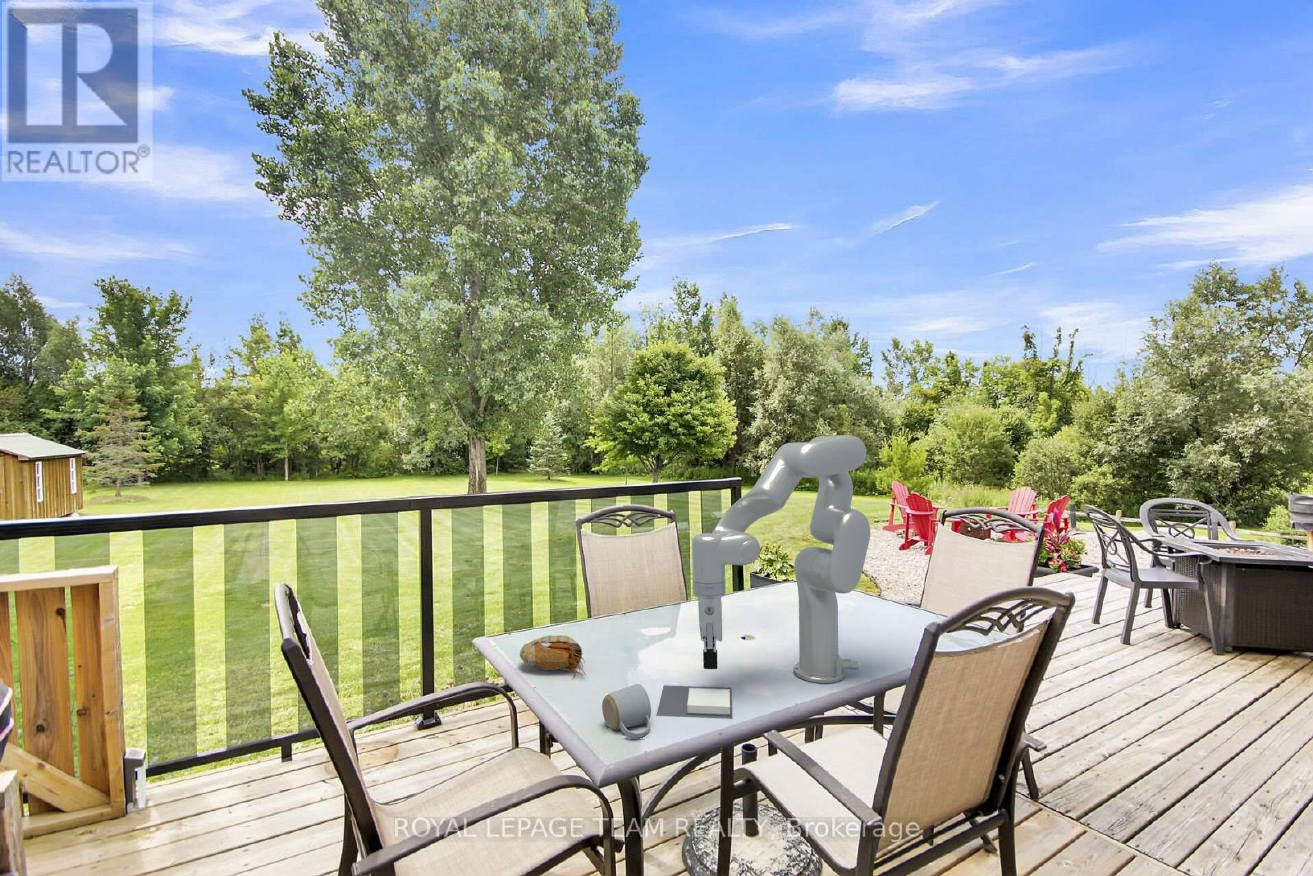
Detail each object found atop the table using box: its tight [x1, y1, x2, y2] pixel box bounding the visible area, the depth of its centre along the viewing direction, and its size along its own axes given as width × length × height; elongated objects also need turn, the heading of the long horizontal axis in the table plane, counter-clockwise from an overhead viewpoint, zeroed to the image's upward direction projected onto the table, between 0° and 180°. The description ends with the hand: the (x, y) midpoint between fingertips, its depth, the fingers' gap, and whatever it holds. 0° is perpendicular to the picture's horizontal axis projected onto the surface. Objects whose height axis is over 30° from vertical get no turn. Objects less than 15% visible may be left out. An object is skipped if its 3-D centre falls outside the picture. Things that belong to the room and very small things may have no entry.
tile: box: [687, 688, 730, 716], centre depth 130 cm, size 9×2×9 cm
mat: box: [656, 684, 734, 720], centre depth 132 cm, size 16×16×1 cm
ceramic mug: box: [601, 683, 652, 740], centre depth 121 cm, size 11×8×8 cm
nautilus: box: [519, 634, 586, 679], centre depth 153 cm, size 8×22×15 cm
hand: (710, 667), depth 137 cm, fingers closed
